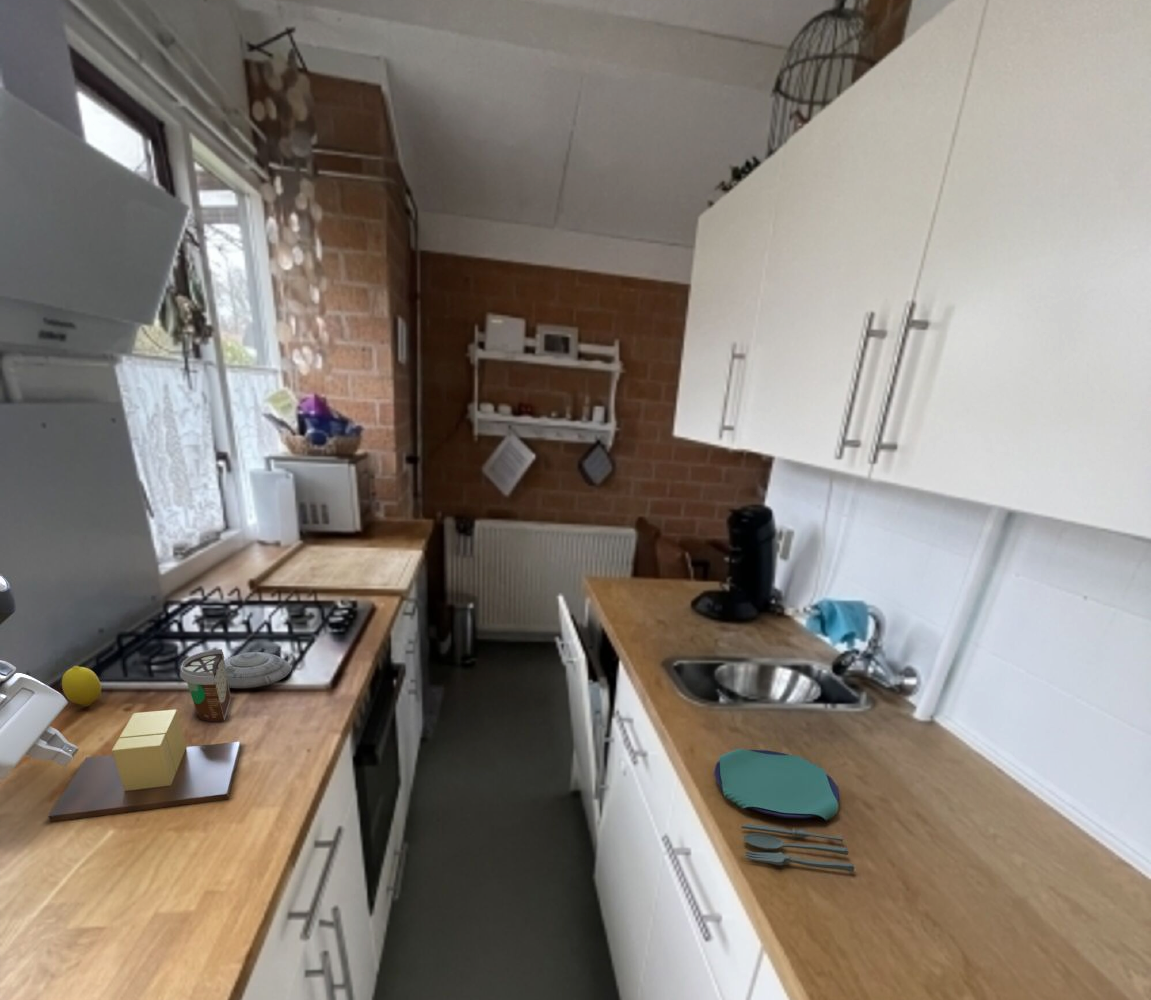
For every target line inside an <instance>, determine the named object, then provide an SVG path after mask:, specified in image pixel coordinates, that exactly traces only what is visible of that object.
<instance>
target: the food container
mask: <svg viewBox="0 0 1151 1000" xmlns="http://www.w3.org/2000/svg"><path fill="white" fill-rule="evenodd" d="M224 660H225V655H224V651H223V649H222V648H220V649H219V648H217V649H210V650H206V651H202V652H198V653H195V654H193V655H190V656H188V657H187V658H185V659H184V660H183V661H182V663H181V666H180V679H182V681H184V682H186V683H187V686H188V689H189V693H190V695H191V696H190V697H191V698H192V702H193V705H194V707H195V711H196V715H197V716H198V718H200V719H201V720H204V721H209V722H225V721H226V717H227V714H228V711H229V707H230V704H231V702H232V701H231V700H232V696H231V691H230V688H229V685H228V679H227V674H226V668H225V663H224Z"/></svg>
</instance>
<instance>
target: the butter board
mask: <svg viewBox="0 0 1151 1000" xmlns="http://www.w3.org/2000/svg"><path fill="white" fill-rule="evenodd" d="M241 749H242V743H241V741H231V742H220V743H215V744H214V743H212V744H204V745H193V746H186V749H185V752H184V754H183V757H182V759H181V762H180V764H179V767H178V769H177V772H176V774H175V777H174V779H173V782H172V784H171V786H163V787H154V788H146V789H138V790H129V791H124V788H123V784H122V781H121V778H120V775H119V772H118V768H117V765H116V762H115V759H114V756H113V754H107V755H105V754H104V755H95V756H87V757H85V759H84V760H83V762H82V764H81V765H80V766H79V768H78V769H77V770H76V773H74V776H73V777H72V779H71V780H70V782H69V783H68V785H67V787H65V790H64V791H63V792H62V794H61V796H60V797H59V798H58V800H57V802H56V803H55V805H54V807H53V808H52V809H51V811H50V812H49V814H48V816H47V817H48V820H49V822H50V823H54V822H63V821H68V820H78V819H86V818H93V817H100V816H109V815H117V814H124V813H132V812H140V811H147V810H155V809H162V808H170V807H178V806H179V807H180V806H186V805H194V804H201V803H202V804H203V803H209V802H217V801H225V800H229V797H230V794H231V793H230V792H231V789H232V785H233V782H234V777H235V773H236V769H237V765H238V762H239V761H238V760H239V757H240V754H241V753H240V752H241Z"/></svg>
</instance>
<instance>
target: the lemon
mask: <svg viewBox="0 0 1151 1000" xmlns="http://www.w3.org/2000/svg"><path fill="white" fill-rule="evenodd" d="M61 688H62V692H63V694H64V695H65V697H66V698H67V699H68V700H69V701H70V702H71V703H74V704H77V705H83V706H84V707H89V706H91V705H92V704H93V703H94V702H96V701H97V700H98V699H99V698H100V696H101V693H102V684H101V681H100V679H99V677H98V676H97V674H96V673H95V672H94V671H93V670H92V669H90V668H88V667H84V666H79V665H73V666H72V667H71V668H69V669H67V671H65V672H64V673H63V675H62V677H61Z"/></svg>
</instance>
